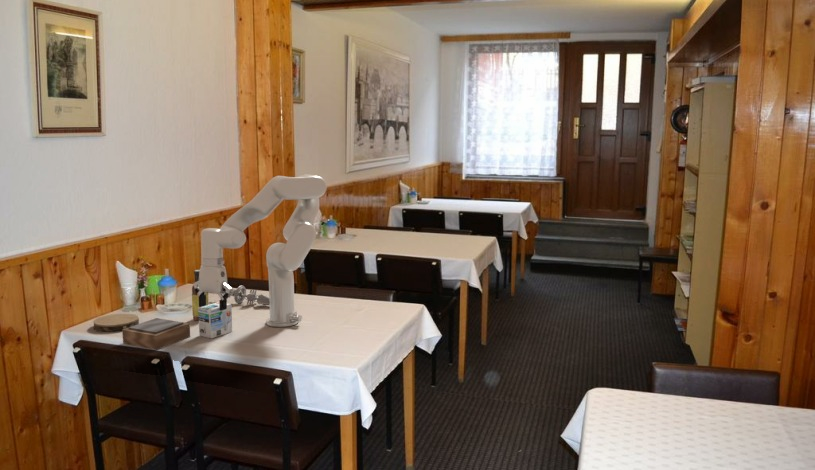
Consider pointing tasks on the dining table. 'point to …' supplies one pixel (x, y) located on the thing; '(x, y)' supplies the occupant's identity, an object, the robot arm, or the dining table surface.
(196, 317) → the sauce bottle
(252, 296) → the spaceship
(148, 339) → the walnut base
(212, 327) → the light bulb box
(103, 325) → the round wood slice
